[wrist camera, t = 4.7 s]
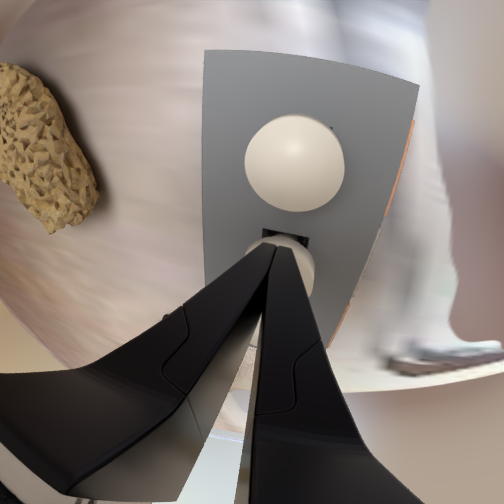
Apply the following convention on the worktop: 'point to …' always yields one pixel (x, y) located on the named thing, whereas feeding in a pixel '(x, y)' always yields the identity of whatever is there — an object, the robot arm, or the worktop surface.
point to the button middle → (300, 254)
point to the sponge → (41, 153)
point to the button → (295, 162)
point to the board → (354, 153)
